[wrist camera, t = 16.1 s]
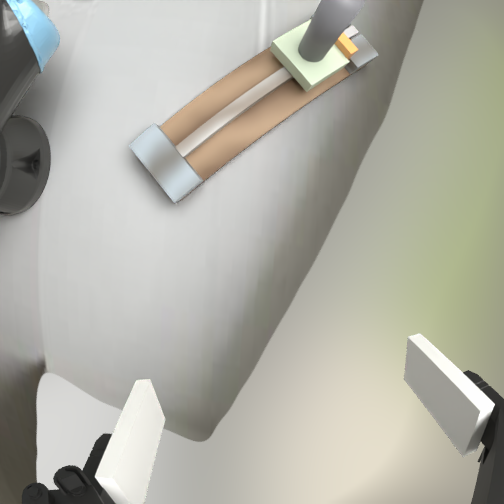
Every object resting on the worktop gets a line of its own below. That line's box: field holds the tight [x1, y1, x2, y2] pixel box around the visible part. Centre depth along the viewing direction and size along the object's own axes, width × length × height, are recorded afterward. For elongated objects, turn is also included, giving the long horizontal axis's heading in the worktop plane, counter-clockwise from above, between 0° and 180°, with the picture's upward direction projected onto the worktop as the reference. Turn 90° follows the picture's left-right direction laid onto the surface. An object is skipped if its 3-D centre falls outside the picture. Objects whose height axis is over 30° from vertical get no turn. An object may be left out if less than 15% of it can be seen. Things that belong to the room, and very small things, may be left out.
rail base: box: [129, 15, 378, 203], centre depth 36 cm, size 9×32×4 cm, turn 128°
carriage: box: [270, 0, 365, 92], centre depth 26 cm, size 7×6×16 cm
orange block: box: [335, 26, 359, 60], centre depth 31 cm, size 6×5×4 cm
